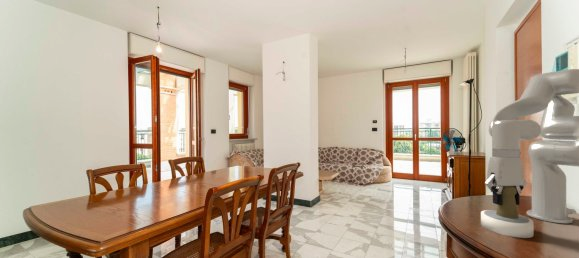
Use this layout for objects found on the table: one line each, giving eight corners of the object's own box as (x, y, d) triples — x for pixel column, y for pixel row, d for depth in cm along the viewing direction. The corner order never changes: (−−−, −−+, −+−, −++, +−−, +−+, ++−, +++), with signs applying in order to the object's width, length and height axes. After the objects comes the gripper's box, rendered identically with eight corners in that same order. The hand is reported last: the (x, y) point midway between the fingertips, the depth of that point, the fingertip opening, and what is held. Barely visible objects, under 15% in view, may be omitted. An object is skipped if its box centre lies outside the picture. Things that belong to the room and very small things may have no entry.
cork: (511, 213, 88) (510, 183, 88) (523, 219, 82) (522, 187, 82) (492, 212, 89) (491, 183, 89) (502, 218, 83) (502, 186, 83)
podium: (505, 221, 93) (504, 208, 93) (545, 237, 79) (545, 222, 79) (471, 222, 92) (471, 209, 92) (506, 238, 78) (506, 224, 78)
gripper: (517, 152, 90) (517, 200, 90) (474, 153, 89) (474, 201, 89) (539, 155, 82) (539, 206, 82) (492, 155, 81) (493, 208, 81)
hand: (505, 203), depth 86 cm, fingers open, 5 cm apart
